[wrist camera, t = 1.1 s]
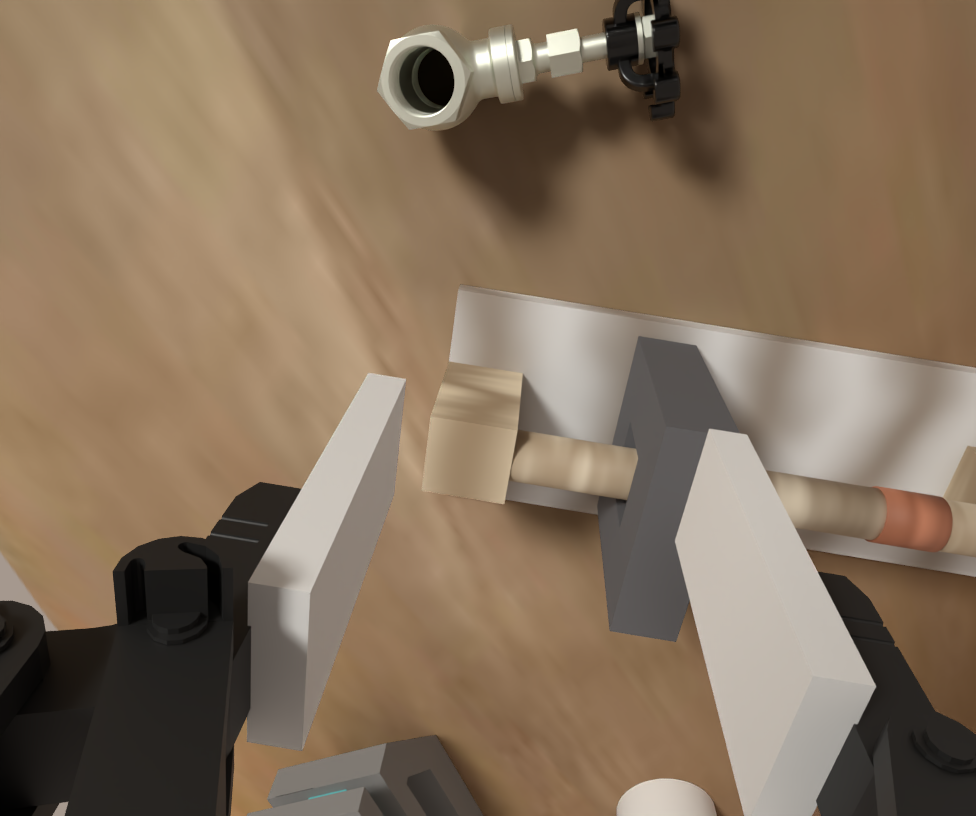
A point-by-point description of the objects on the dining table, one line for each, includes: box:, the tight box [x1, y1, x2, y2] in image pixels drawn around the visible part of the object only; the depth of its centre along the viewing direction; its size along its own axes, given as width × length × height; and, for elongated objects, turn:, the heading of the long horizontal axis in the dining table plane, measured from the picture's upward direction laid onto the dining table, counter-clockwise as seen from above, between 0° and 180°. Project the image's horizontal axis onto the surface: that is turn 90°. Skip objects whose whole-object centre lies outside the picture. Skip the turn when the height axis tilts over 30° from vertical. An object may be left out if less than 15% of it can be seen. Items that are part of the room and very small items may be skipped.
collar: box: [597, 336, 740, 642], centre depth 36 cm, size 3×10×10 cm, turn 172°
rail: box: [422, 284, 976, 577], centre depth 38 cm, size 32×12×8 cm, turn 82°
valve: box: [377, 0, 680, 131], centre depth 32 cm, size 7×7×12 cm
